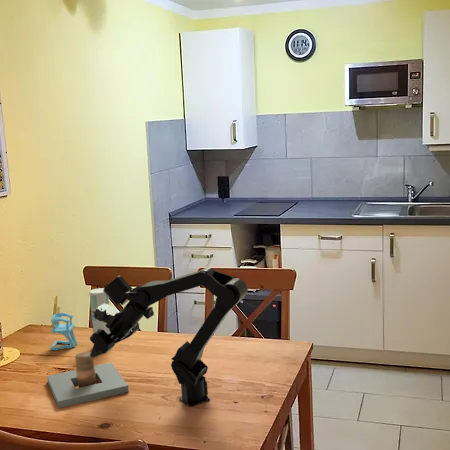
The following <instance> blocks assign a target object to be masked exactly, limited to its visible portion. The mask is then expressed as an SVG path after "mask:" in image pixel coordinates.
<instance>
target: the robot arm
mask: <svg viewBox="0 0 450 450" xmlns="http://www.w3.org/2000/svg"><path fill="white" fill-rule="evenodd" d="M201 286H202V287H204V288H206V289H207V290H208V292H210V293H211V294H212V296H215V297H216V298H215V303H214V307H213V308H212V310H211V311H210V312H209V314H208V316H207V317H206V318H205V320H204V322H203V323H202V325H201V326H200V327H199V329H198V330H197V332H196V334H195V335H194V336H193V339H191V341H190V342H189V341H188V340H187V341H185V342H184V343H183V344H182V345H180V347H178V349H177V350H176V352H175V355H174V356H173V357H171V358H170V359H171V360H172V362H171V363H170V364H171V365H170V367H171V369H172V372H173V374H175V377H176V380H177V382H178V385H180V389H181V390H180V391H181V395H180V396H179V397H178V399H179V400H180V401H182V402H183V404H186V405H188V406H189V407H194V406H196V405H199V404H202V403H205V402H208V401H210V400H211V397H209V396H208V395H209V392H208V391H209V390H208V382H207V380H206V376H205V375H206V374H207V372H208V369H209V366H208V365H207V364H205V362H204V361H203V360H202V357H203V354H204V349H205V348H206V347H207V345H208V343H209V342H210V340H211V339H212V337H213V336H214V334H215V333H216V331H217V330H218V328H220V326H221V324H222V322H223V321H224V320H225V318H226V317H227V315H228V314H229V312H230V311H232V310H233V309H234V307H236V306H237V305H238V304H239V303H240V302H241V300H243V299H244V298H245V297H246V296H247V294H248V291H249V288H248V285H247V283H246V282H245V281H244V280H243V279H241V278H238V277H237V278H236V277H234V276H232V275H229V274H227V273H224V272H220V271H218V270H216V269H214V268H212V267H209V266H208V267H204V268H202V269H200V270H197V271H195V272H192V273H188V274H185V275H181V276H178V277H175V278H173V279H169V280H161V279H160V280H159V279H158V280H152V281H149V282H147V283H145V284H144V285H138V286H135V287H134V288H133V287H132V286H131V285H130V284H129V283H128V281H126V279H125V278H124V277H123V276H122V275H118V276H116V277H115V278H114V279H113V280H112V281H111V282H110V283H109V284H106V286H105V287H103V288H104V290H103V292H104V293H105V294H106V295H107V296H108V297H109V300H111V301H112V302H113V303H114V304H115V305H116V306H119V305H120V306H124V305H125V304H126V303H127V304H126V305H125V306H124V307H123V308H122V309H121V310H118V309H117V308H116V307H114V306H112V305H111V304H109V305H108V304H106V303H104V304H102V305H100V306H98V307H97V309H96V311H95V312H94V318H95V319H97V320H99V321H103V322H105V323H107V324H106V325H105V326H106V327H107V328H109V330H110V332H111V333H109V334H107V333H106V332H105V331H104V330H98V331H96V332H95V333H92V334H91V335H90V337H89V341H90V342H91V343H92V344H93V347H92V349H91V351H90V352H91V354H90V356H91V357H92V358H93V359H94V358H96V357H98V356H102V355H105V354H107V353H108V352H110V351H111V350H112V349H113V348H114V347H115V345H116V344H118V343H119V342H122V341H124V340H126V339H128V338H130V337H131V336H133V335H134V334H135V333H136V332H138V330H139V329H140V323H139V321H141V319H142V318H143V317H144V318H145V319H147V320H149V319H150V318H152V317H153V316H154V315H155V312H154V308H153V306H151V305H154V304H156V303H157V302H159V301H161V300H163V299H165V298H166V297H169V296H171V295H175V294H178V293H181V292H185V291H188V290H191V289H194V288H197V287H201Z"/></svg>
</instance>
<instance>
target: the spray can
mask: <svg viewBox="0 0 450 450" xmlns="http://www.w3.org/2000/svg"><path fill="white" fill-rule="evenodd" d="M104 288H105V287H102V288H101V287H100V288H93V289H91V290H89V291H88V293H89V306H90V313H91V321H92V332H93V333H95V332H96V331H98V330H104V331H105V332H106V333H107V334H109V333H111V332H110V330H109V328H107V327H106V326H105V325H106V324H107V323H105V322H103V321H99V320H97V319H95V318H94V312H95V311H96V309H97V307H98V306H100V305H102V304H104V303H106V304H108V305H110V298H109V297H108V296H107V295H106V294H105V293H104V292H103V290H104ZM93 333H92V334H93Z"/></svg>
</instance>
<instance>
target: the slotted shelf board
mask: <svg viewBox="0 0 450 450" xmlns="http://www.w3.org/2000/svg"><path fill="white" fill-rule="evenodd" d="M94 366H95V376H96V380H97V381H98V382H99V383H96V384H94V385H89V386H85V387H80V388H79V387H77V388H76V387H75V385H77V384H78V383H77V374H76V369H74V370H70V371H69V370H68V371H64V372H59V373H55V374H50V375H46V379H47V384H48V387H49V389H50V391H51V394H52V395H53V398H54V400H55V403H56V405H57V407H58V409H60V408H65V407H70V406H73V405H78V404H83V403H86V402H92V401H95V400H99V399H104V398H107V397H112V396H117V395H121V394H125V393H129V384H128V383H127V382H126V381H125V379H124V378H123V377H122V375H121V374H120V372H119V371H118V370H117V368H116V367H115V366H114V364H113V362H106V363H102V364H98V365H94Z"/></svg>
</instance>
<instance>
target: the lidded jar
mask: <svg viewBox="0 0 450 450" xmlns="http://www.w3.org/2000/svg"><path fill="white" fill-rule="evenodd" d="M90 354H91V351H90V352H89V351H84V352H79V353H77V354H75V365H76V366H75V367H76V368H75V370H76V374H77V383H78V388H80V387H85V386H89V385H94V384H97V382H96V380H97V379H96V376H95V366H96V365H94V358H92V357H91V356H90Z"/></svg>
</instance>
